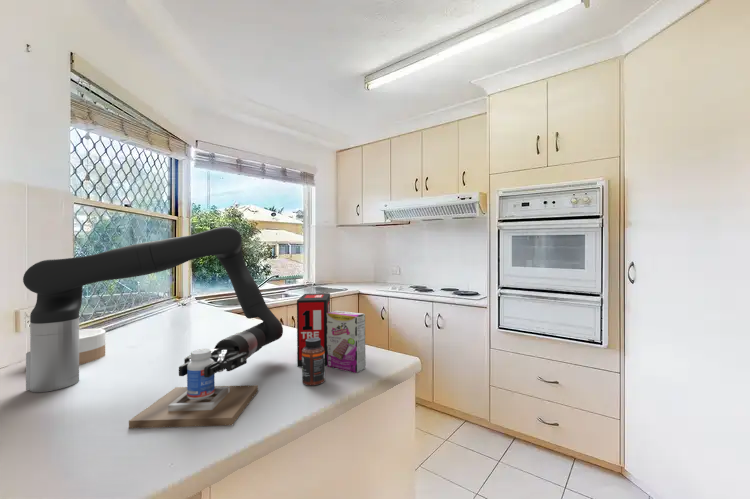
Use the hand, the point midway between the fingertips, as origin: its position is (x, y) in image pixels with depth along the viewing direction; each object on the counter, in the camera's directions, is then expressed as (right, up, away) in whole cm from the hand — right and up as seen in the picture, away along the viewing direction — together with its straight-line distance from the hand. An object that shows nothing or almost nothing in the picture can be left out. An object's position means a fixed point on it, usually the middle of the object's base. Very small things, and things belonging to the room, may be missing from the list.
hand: (193, 372), depth 70 cm
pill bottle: (0, -6, +3) cm, 7 cm away
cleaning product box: (+20, -9, +37) cm, 43 cm away
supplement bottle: (+23, -9, +16) cm, 29 cm away
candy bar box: (+31, -9, +26) cm, 41 cm away
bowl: (-61, -10, +37) cm, 72 cm away
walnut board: (0, -9, +2) cm, 9 cm away
